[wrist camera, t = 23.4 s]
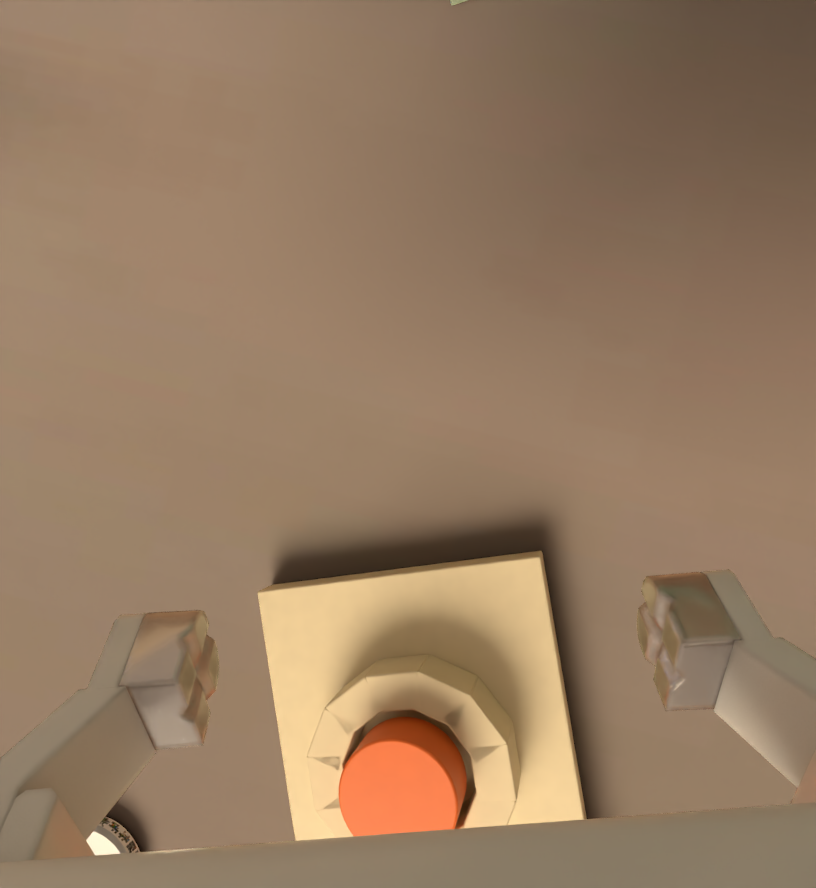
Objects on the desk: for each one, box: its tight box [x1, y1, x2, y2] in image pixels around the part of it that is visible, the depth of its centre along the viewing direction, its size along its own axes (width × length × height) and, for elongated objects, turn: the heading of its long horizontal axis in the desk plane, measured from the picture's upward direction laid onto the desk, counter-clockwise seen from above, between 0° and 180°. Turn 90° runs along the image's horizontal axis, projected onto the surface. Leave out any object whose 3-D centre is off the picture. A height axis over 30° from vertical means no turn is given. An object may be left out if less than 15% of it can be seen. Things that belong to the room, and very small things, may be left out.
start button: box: [338, 717, 467, 836], centre depth 21 cm, size 4×4×2 cm
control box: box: [258, 551, 587, 841], centre depth 23 cm, size 10×12×3 cm
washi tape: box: [86, 817, 140, 855], centre depth 27 cm, size 4×4×1 cm
